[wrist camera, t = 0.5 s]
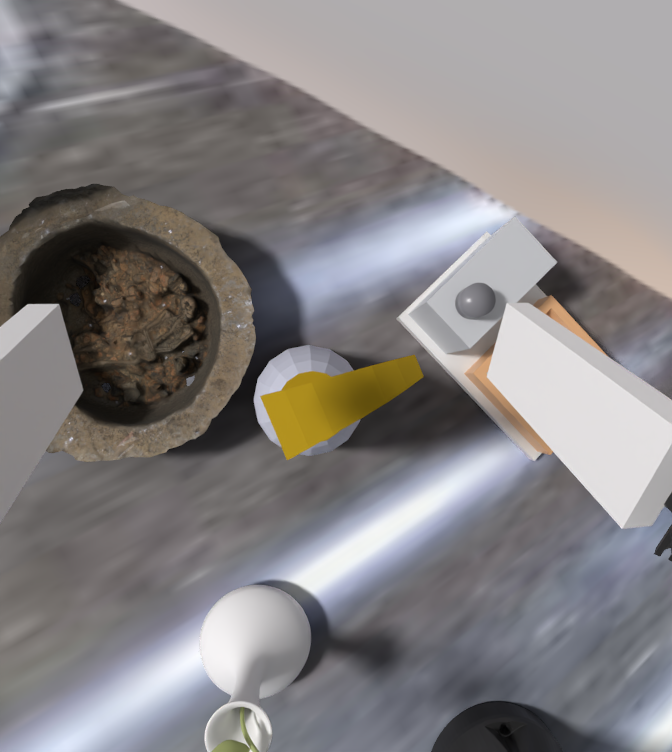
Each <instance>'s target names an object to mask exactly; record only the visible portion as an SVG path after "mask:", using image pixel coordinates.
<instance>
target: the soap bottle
mask: <svg viewBox="0 0 672 752" xmlns="http://www.w3.org/2000/svg"><path fill="white" fill-rule="evenodd" d="M423 377H424V376H423V374H422V371H421V369H420V366H419V364H418V362H417V359H416V357H415V355H412V356H407V357H403V358H399V359H395V360H391V361H387V362H383V363H380V364H376V365H372V366H368V367H365V368H361V369H357V370H353V369H352V367H351V366H350V364H349V363H348V361H347V360H345V359H344V358H342V357H341V356H339V355H338V354H336V353H335V352H333V351H332V350H330V349H327V348H322V347H317V346H312V345H305V346H300V347H295V348H290V349H287V350H285V351H284V352H282V353H281V354H279V355H278V356H276V357H275V358H273V359H272V360H270V361H269V363H268V364H267V366H266V367H265V369H264V370H263V372H262V373H261V375H260V376H259V378H258V380H257V385H256V390H255V395H254V405H255V410H256V415H257V419H258V423H259V424H260V426H261V427H262V429H263V430H264V432H265V433H266V434H267V436H268V437H269V439H270V440H271V441H272V442H274V443H275V444H277V445H278V446H280V447H282V449H283V452H284V454H285V456H286V459H287V460H289V459H290V458H292V457H294V456H296V455H298V454H302V455H308V456H313V455H317V454H322V453H326V452H331V451H332V450H334V449H335V448H337V447H338V446H340V445H341V444H342V443H344V442H345V441H347V440H348V439H349V438H350V436H351V435H352V433H353V431H354V430H355V428H356V427H357V425H358V424H359V422H360V419H361V418H363V417H365V416H366V415H368V414H369V413H371V412H373V411H374V410H376V409H378V408H379V407H381V406H382V405H384V404H386V403H387V402H389V401H390V400H392V399H393V398H395V397H396V396H398V395H399V394H401V393H402V392H403V391H405V390H406V389H408V388H409V387H411V386H412V385H413V384H415V383H416V382H417V381H419V380H420V379H421V378H423Z"/></svg>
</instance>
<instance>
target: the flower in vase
mask: <svg viewBox="0 0 672 752" xmlns="http://www.w3.org/2000/svg"><path fill="white" fill-rule="evenodd" d="M199 646H200V654H201V659H202V663H203V665H204V668H205V670H206V672H207V674H208V676H209V677H210V679H211V680H212V681H213V682H214V684H215V685H216V686H217V687H219V688H220V689H221V690H223V691H224V692H226V693H228V694H230V695H232V696H231V698H230V701H229V702H228V703H227V704H225V705H223V706H222V707H220V708H219V709H218V710H217V711H216V712H215V713H214V714H213V715H212V717H211V718H210V720H209V722H208V724H207V727H206V730H205V745H206V748H207V751H208V752H267V751H268V749H269V747H270V744H271V741H272V726H271V722H270V719H269V717H268V715H267V714H266V712H265V711H264V710H263V709H262V708H261V707H260V700H259V699H261V698H266V697H269V696H272V695H274V694H277V693H278V692H280V691H282V690H283V689H285V688H286V687H287V686H289V685H290V684H291V683H292V682H293V681H294V679H295V678H296V677H297V676H298V674H299V673H300V671H301V670H302V668H303V667H304V665H305V663H306V660H307V658H308V655H309V652H310V646H311V629H310V625H309V621H308V618H307V616H306V614H305V612H304V610H303V609H302V607H301V606H300V604H299V603H298V602H297V601H296V600H295V599H294V598H293V597H292V596H290V595H289V594H287V593H286V592H284V591H282V590H280V589H278V588H275V587H272V586H267V585H249V586H244V587H241V588H238V589H235V590H233V591H231V592H229V593H228V594H226V595H225V596H223V597H222V598H221V599H220V600H219V601H218V602H216V603H215V605H214V606H213V607H212V608H211V610H210V611H209V613H208V614H207V616H206V618H205V620H204V622H203V625H202V628H201V633H200V641H199Z"/></svg>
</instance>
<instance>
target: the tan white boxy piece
mask: <svg viewBox="0 0 672 752" xmlns="http://www.w3.org/2000/svg"><path fill="white" fill-rule="evenodd" d="M556 263H557V261H556V260H555V259H554V258H553V257H552V256H551V255H550V254H549V253H548V252H547V251H546V249H545V248H544V247H543V246H542V245H541V244H540V243H539V242H538V241H537V240H536V239H535V237H534V236H533V235H532V234H531V233H530V232H529V231H528V230H527V229H526V228H525V227H524V225H523V224H522V223H521V222H520V221H519V220H518V219H517V218H516V217H513V218H512V219H511V220H510V221H508V222H507V223H506V224H505V225H503V226H502V227H501V228H500V229H498V230H497V231H496V232H494V233H493V234H492V235H490V234H489V233H488V232H486V233H485V234H484V235H483V236H481V237H480V238H479V239H478V240H477V241H476V242H475V243H474V244H473V245H472V246H471V247H470V248H469V249H468V250H467V251H466V252H465V253H464V254H463V255H462V256H461V257H460V258H459V259H458V260H457V261H456V262H455V263H454V264H452V265H451V266H450V267H449V268H448V269H447V270H446V271H445V272H444V273H443V274H442V275H441V276H440V277H439V278H438V279H437V280H436V281H435V282H434V283H433V284H432V285H431V286H430V287H429V288H428V289H427V290H426V291H425V292H424V293H422V294H421V295H420V296H419V297H418V298H417V299H416V300H415V301H414V302H413V303H412V304H411V305H410V306H409V307H408V308H407V309H406V310H405V311H404V312H403V313H402V314H401V315H400V316H399V317H398V318H397V320H398V321H399V322H400V323H401V324H402V325H403V326H404V327H405V328H406V329H407V330H408V332H409V333H410V334H411V335H412V336H413V337H414V338H415V339H416V340H417V341H418V342H419V343H420V344H421V345H422V346H423V347H424V348H425V350H426V351H427V352H428V353H429V354H430V355H431V356H432V357H433V358H434V359H435V360H436V361H437V362H438V363H439V364H440V365H441V366H442V367H443V369H444V370H445V371H446V372H447V373H448V374H449V375H450V376H451V377H452V378H453V379H454V380H455V381H456V382H457V383H458V384H459V385H460V387H461V388H462V389H463V390H464V391H465V392H466V393H467V394H468V395H469V396H470V397H471V398H472V399H473V400H474V401H475V402H476V403H477V404H478V406H479V407H480V408H481V409H482V410H483V411H484V412H485V413H486V414H487V415H488V416H489V417H490V418H491V419H492V420H493V421H494V422H495V424H496V425H497V426H498V427H499V428H500V429H501V430H502V431H503V432H504V433H505V434H506V435H507V436H508V437H509V438H510V439H511V440H512V441H513V443H514V444H515V445H516V446H517V447H518V448H519V449H520V450H521V451H522V452H523V453H524V454H525V455H526V456H527V457H528V458H529V459H530V460H533V461H535V460H536V459H537V458H538V457H539V456H540V455H541V454H542V453H545V454H548V455H551V454H552V453H553V451H552V450H551V448H550V447H549V446H548V445H547V444H546V443H545V442H544V441H543V439H542V438H541V437H540V436H539V435H538V434H537V433H536V432H535V431H534V429H533V428H532V427H531V426H530V425H529V424H528V423H527V422H526V420H525V419H524V418H523V417H522V416H521V415H520V414H519V413H518V411H517V410H516V409H515V408H514V407H513V406H512V405H511V404H510V402H509V401H508V400H507V399H506V398H505V397H504V396H503V395H502V394H501V392H500V391H499V390H498V389H497V388H496V387H495V386H494V385H493V383H492V382H491V381H490V380H489V379H488V378H487V373H488V370H489V366H490V362H491V359H492V355H493V351H494V348H495V344H496V340H497V337H498V333H499V330H500V326H501V322H502V319H503V315H504V311H505V308H506V304H507V303H530V304H531V305H533V306H534V307H536V308H537V309H539V310H540V311H541V312H543V313H544V314H546V315H547V316H549V317H550V318H552V319H553V320H555V321H556V322H558V323H559V324H561V325H562V326H564V327H565V328H567V329H568V330H569V331H571V332H572V333H574V334H575V335H577V336H578V337H580V338H581V339H583V340H584V341H586V342H587V343H589V344H590V345H592V346H593V347H594V348H596V349H597V350H599V351H600V352H602V353H603V354H605V353H604V351H603V350H602V349H601V348H600V347H599V346H598V345H597V344H596V343H595V342H594V341H593V340H592V338H591V337H590V336H589V335H588V334H587V333H586V332H585V331H584V330H583V329H582V328H581V327H580V325H579V324H578V323H577V322H576V321H575V320H574V319H573V318H572V317H571V316H570V315H569V314H568V312H567V311H566V310H565V309H564V308H563V307H562V306H561V305H560V304H559V303H558V302H557V301H556V300H555V298H554V297H553V296H552V295H550V296H546V295H545V294H544V292H543V291H542V290H541V289H540V288H539V287H538V286H537V285H536V283H537V282H538V281H539V280H540V279H541V278H542V277H543V276H544V275H545V274H546V273H547V272H548V271H549V270H550V269H551V268H552V267H553V266H554V265H555V264H556ZM605 355H606V354H605ZM606 356H607V355H606Z"/></svg>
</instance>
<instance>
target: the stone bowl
mask: <svg viewBox="0 0 672 752" xmlns="http://www.w3.org/2000/svg"><path fill="white" fill-rule="evenodd" d="M80 276H87V277H89V278H90V279H91V280H90V281H89V283H88V284H87V285H86V286H84V287H83V288H81V289H80V288H79V287H78V286H77V285H76V281H77V278H79V277H80ZM251 290H252V289H251V287H250V286H249V284H248V282H247V280H246V278H245V276H244V275H243V273H242V272H241V270H240V269H239V267H238V266H237V265H236V263H235V262H234V261H233V260H232V259H230V258H229V257H228V256H227V254H226V253H225V251H224V250H223V249H222V247H221V244H220V241H219V237H218V236H216V235H215V234H214V233H212V232H211V231H209V230H208V229H207V228H205V227H204V226H203V225H201V224H200V223H198V222H196V221H194V220H193V219H192V218H190V217H188V216H186V215H185V214H184V213H182V212H180V211H178V210H175V209H173V208H170V207H167V206H159V205H157V204H155V203H152V202H150V201H148V200H145V199H140V198H137V197H135V196H134V195H133V196H130V197H129V196H125V195H123V194H121V193H120V192H119V191H118V190H117V189H116V188H115V187H110V186H103V185H99V184H91V185H89V186H86V187H79V188H77V189H65V190H61V191H56V192H54V193H52V194H50V195H47V196H42V197H36V198H35V199H34V200H33V201H32V202H31V203H30V204H29V207H28V208H26V209H23V210H22V213H21V214H19V215H18V216H16V217H15V219H14V220H13V222H12V224H11V225H10V228H9V231H7V232H6V233H5V234H3V235H2V236H1V237H0V327H1V326H2V325H3V324H4V323H5V322H7V321H8V320H9V319H10V318H12V317H13V316H14V315H15V314H16V313H18V312H19V311H20V310H21V309H22V308H24V307H25V306H26V305H27V304H59V305H60V309H61V312H62V316H63V320H64V323H65V327H66V330H67V334H68V337H69V341H70V344H71V348H72V352H73V355H74V359H75V362H76V366H77V369H78V373H79V376H80V380H81V384H82V387H83V392H82V393H81V395H80V397H79V398H78V400H77V401H76V403H75V405H74V406H73V408H72V409H71V411H70V413H69V414H68V416H67V417H66V419H65V421H64V422H63V424H62V425H61V427H60V429H59V430H58V432H57V433H56V435H55V437H54V438H53V440H52V442H51V443H50V445H49V446H48V448H47V450H46V451H47V452H49V453H55V452H59V451H64V452H66V453H68V454H71V455H73V456H74V458H75V459H76V460H78V461H84V462H93V461H102V460H107V461H109V460H119V459H121V458H126V457H152V456H155V455H158V454H162V453H165V452H167V450H168V449H171V448H175V447H178V446H181V445H183V444H184V443H185V442H187V441H188V440H191V439H196V438H197V437H198V436H201V435H202V434H204V433H205V431H206V430H207V429H208V426H209V425H210V423H211V419H212V418H214V417H217V415H218V414H219V412H220V411H221V410H222V409H223V408H224V407H225V406H226V404H227V402H228V401H229V399H230V397H231V395H232V394H234V392H235V391H236V390H237V389H238V388H239V386H240V384H241V380H242V377H243V376H244V374H245V372H246V370H247V368H248V365H249V363H250V360H251V357H252V355H253V352H254V346H255V341H256V335H255V326H254V325H253V324H252V323H253V321H254V320H253V318H252V314H253V312H254V307H253V305H252V299H251ZM76 292H77V293H78V295H79V297H80V299H81V303H79V306H75V305H73V304H71V303H70V299H69V296H70V295H71V294H74V293H76ZM182 351H184V352H183V353H182ZM194 375H195V379H194V381H193V383H192V384H191V385H190V386H187V385H186V384H187V382H186V378H188V377H192V376H194ZM104 383H110V386H111V389H110V390H109V392H108V393H106V392H105V391H104V390H103V389H102V386H101V385H103V384H104Z"/></svg>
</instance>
